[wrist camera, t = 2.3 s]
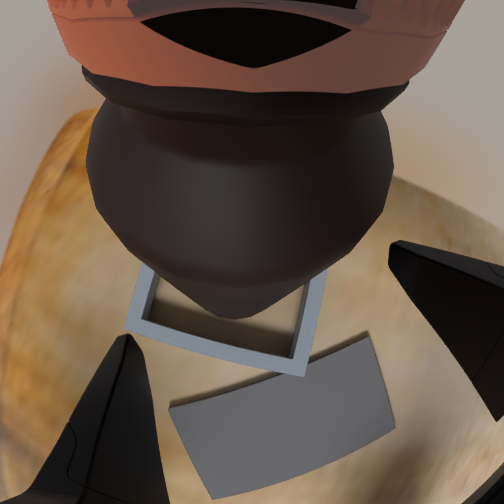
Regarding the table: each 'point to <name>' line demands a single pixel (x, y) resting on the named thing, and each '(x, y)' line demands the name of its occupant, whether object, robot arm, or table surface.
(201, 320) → the table surface
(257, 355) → the bottle holder
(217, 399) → the mat
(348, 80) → the vinegar
